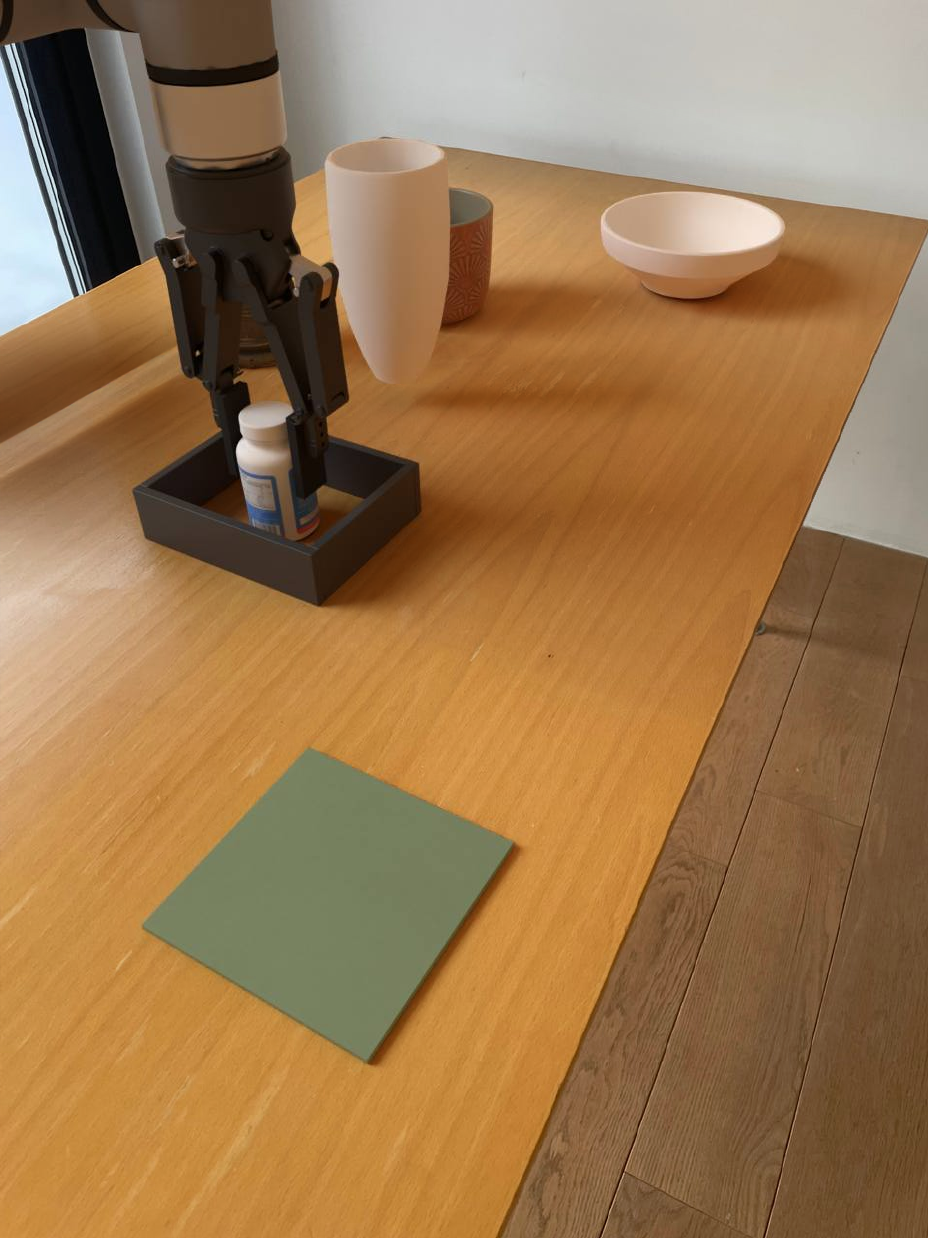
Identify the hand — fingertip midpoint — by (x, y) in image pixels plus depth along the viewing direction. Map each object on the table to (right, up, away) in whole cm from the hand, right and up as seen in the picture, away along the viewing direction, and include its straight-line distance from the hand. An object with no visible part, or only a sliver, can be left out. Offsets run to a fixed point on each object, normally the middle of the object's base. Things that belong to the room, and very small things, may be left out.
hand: (278, 477), depth 76 cm
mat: (+7, -25, -23) cm, 34 cm away
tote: (0, -3, +3) cm, 4 cm away
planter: (+11, +23, +33) cm, 42 cm away
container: (-7, +17, +27) cm, 32 cm away
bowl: (+39, +27, +37) cm, 60 cm away
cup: (+8, +9, +18) cm, 22 cm away
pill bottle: (0, -3, +3) cm, 5 cm away
